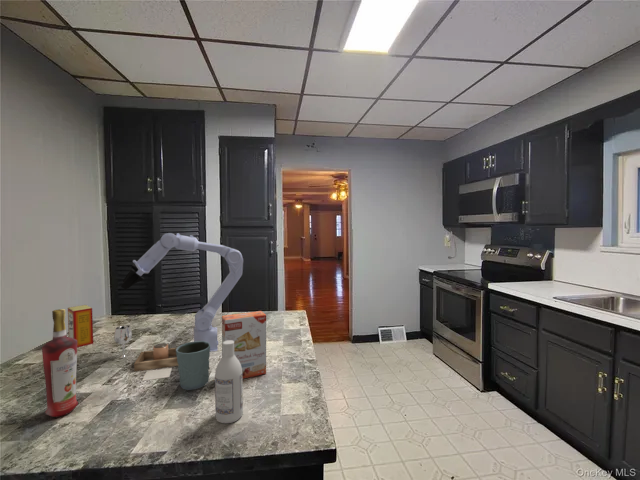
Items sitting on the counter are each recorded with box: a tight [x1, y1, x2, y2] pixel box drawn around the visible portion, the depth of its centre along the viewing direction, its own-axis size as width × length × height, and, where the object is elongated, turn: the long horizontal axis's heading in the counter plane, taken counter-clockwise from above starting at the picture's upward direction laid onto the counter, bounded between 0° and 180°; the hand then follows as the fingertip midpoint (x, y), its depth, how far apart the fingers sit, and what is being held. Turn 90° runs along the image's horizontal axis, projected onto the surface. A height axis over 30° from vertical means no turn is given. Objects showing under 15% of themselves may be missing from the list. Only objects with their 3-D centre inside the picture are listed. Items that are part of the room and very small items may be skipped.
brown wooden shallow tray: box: [133, 347, 179, 373], centre depth 114 cm, size 15×11×3 cm
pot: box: [152, 342, 169, 360], centre depth 114 cm, size 5×5×6 cm
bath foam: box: [214, 340, 244, 424], centre depth 81 cm, size 7×7×20 cm
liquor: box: [41, 308, 79, 418], centre depth 83 cm, size 7×7×28 cm
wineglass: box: [113, 325, 133, 359], centre depth 118 cm, size 6×6×12 cm
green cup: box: [176, 340, 211, 391], centre depth 99 cm, size 10×10×12 cm
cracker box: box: [221, 310, 267, 380], centre depth 104 cm, size 14×6×21 cm, turn 117°
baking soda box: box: [67, 304, 94, 348], centre depth 134 cm, size 10×6×16 cm
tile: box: [141, 367, 173, 382], centre depth 104 cm, size 8×7×1 cm
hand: (124, 285), depth 114 cm, fingers open, 7 cm apart
